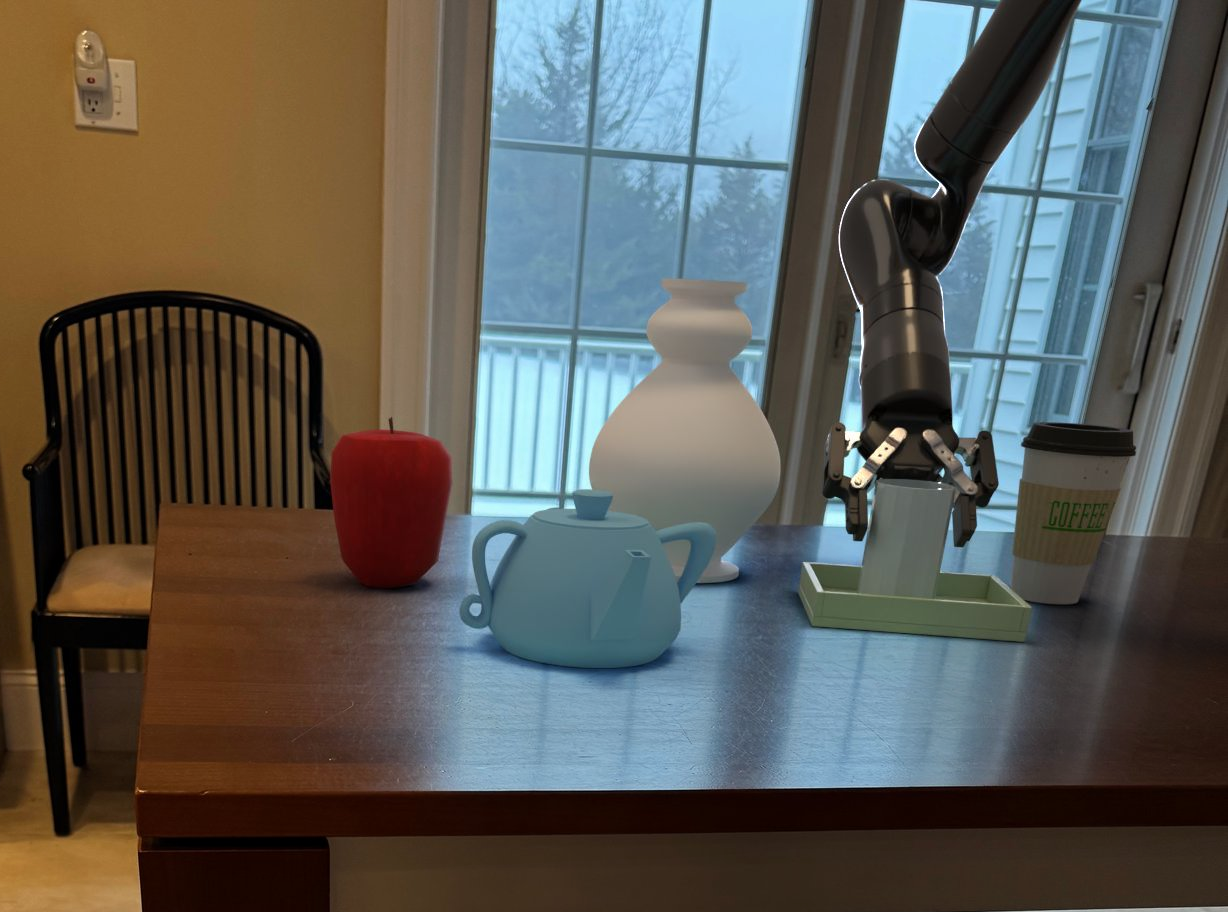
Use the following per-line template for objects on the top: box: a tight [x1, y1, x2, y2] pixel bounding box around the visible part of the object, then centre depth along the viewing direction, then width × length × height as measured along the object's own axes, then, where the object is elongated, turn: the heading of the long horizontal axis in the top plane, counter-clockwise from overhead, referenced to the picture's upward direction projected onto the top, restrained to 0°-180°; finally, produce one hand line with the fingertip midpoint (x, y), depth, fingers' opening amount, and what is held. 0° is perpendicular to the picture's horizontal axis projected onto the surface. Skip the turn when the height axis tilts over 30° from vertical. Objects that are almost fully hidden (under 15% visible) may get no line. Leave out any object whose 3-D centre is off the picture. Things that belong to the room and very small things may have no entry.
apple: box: [329, 416, 453, 589], centre depth 120 cm, size 10×10×14 cm
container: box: [857, 479, 956, 599], centre depth 119 cm, size 6×6×10 cm
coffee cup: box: [1009, 421, 1137, 605], centre depth 129 cm, size 10×10×15 cm
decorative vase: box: [588, 277, 781, 584], centre depth 129 cm, size 18×18×25 cm
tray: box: [797, 561, 1033, 643], centre depth 120 cm, size 17×14×3 cm
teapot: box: [459, 488, 717, 669], centre depth 102 cm, size 15×17×11 cm
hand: (911, 538), depth 117 cm, fingers open, 8 cm apart
